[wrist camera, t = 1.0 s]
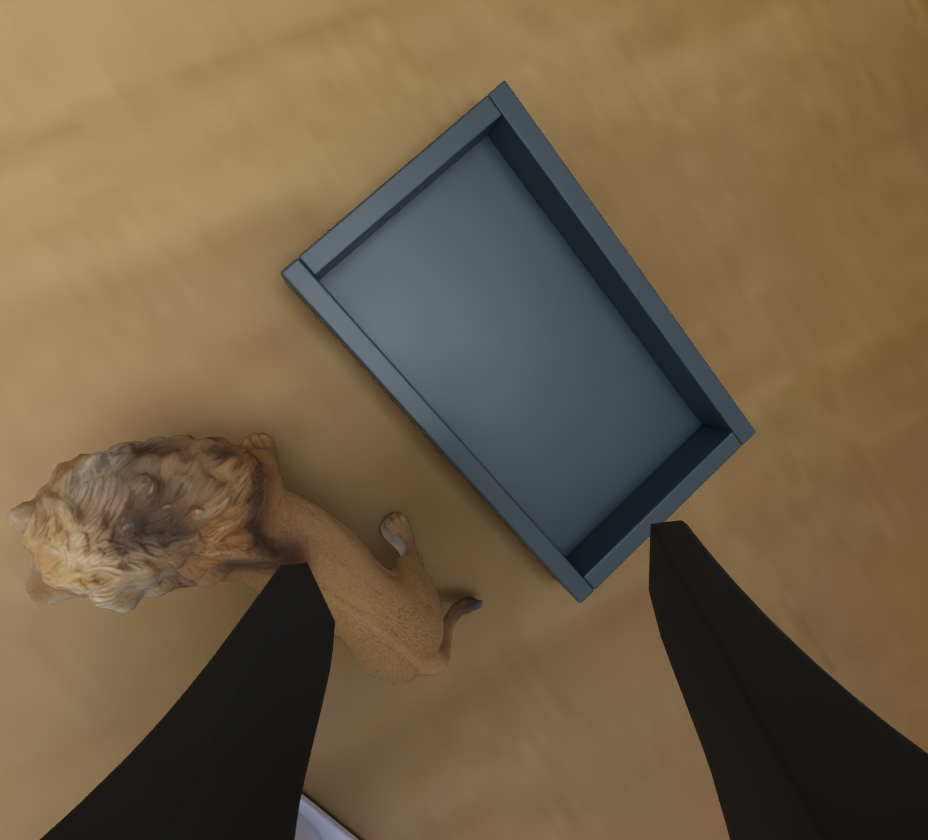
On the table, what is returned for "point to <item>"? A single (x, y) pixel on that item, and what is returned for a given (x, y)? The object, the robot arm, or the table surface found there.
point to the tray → (524, 342)
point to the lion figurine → (227, 544)
